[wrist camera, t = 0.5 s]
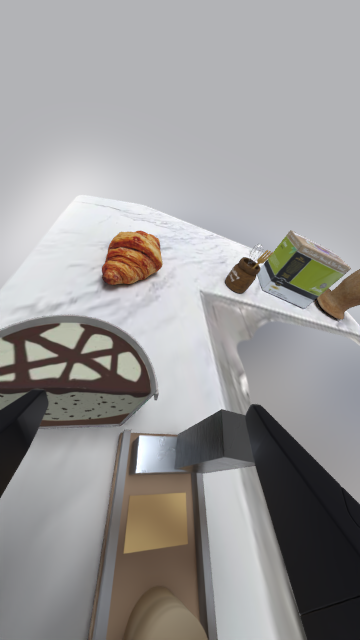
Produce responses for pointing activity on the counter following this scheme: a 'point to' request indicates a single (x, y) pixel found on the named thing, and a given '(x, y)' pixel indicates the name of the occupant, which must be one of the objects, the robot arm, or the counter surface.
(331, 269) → the tea box
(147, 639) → the nut
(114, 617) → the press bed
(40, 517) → the counter surface
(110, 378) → the food container
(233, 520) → the counter surface
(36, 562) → the counter surface
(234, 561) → the counter surface
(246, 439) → the block
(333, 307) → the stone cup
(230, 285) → the utensil holder
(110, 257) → the croissant
